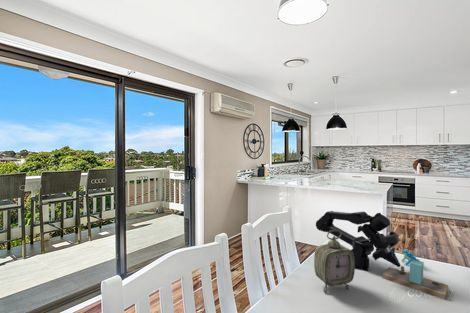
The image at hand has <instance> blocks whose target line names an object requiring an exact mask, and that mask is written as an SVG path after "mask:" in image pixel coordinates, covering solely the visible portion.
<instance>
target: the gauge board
mask: <svg viewBox="0 0 470 313" xmlns="http://www.w3.org/2000/svg"><path fill="white" fill-rule="evenodd" d="M409 273H410V272H407V271H405V267H404V266H403V265H401V266H400V269H397V268H394V267H391V266H388V267H387V269H386V270H385V271H384V272H383V273H382V279H383V280H386V281H390V282H392V283H395V284H398V285H401V286H404V287H406V288H409V289H413V290H415V291H418V292H422V293H424V294H426V295H430V296H432V297H436V298H439V299H441V298H442V299H443V300H444V299H445V300H446V299H447V295H448V292H449V284H445V283H442V282H439V281H436V280H432V279H429V278H427V277H424V276H423V281H422V283H421V285H419V284H416V283H413V282H410V281H409Z"/></svg>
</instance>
